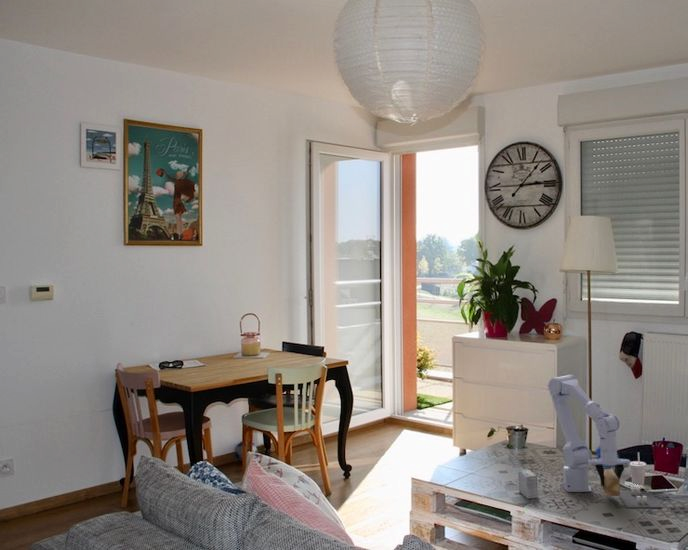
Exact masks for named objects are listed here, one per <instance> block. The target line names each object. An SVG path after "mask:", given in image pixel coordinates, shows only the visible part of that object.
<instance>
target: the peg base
mask: <svg viewBox="0 0 688 550" xmlns="http://www.w3.org/2000/svg"><path fill="white" fill-rule="evenodd" d="M645 492H646V491H641V490H640V488H636V489H635V488H633V487H630V491H620V496H618V497H619V498H620V500H621V501H622V503H623V504H624V506H625V507H626V509H663V506H662V504H660V502H659V501H658V499H657V498H656V497H655V495H653V493H652V492H651V493H645Z"/></svg>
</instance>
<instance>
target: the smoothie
mask: <svg viewBox="0 0 688 550" xmlns="http://www.w3.org/2000/svg"><path fill="white" fill-rule="evenodd" d="M628 467H629V472H630V476H631V482H632V483H633V484H636V485H637V484H638V485H644V486H645V476H646V468H647V463H646V462H645V461H640V452H638V451H637V460H633V461H632V460H631V461H630V466H628ZM632 483H631V484H632ZM633 484H632V485H633Z"/></svg>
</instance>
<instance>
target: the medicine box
mask: <svg viewBox="0 0 688 550" xmlns="http://www.w3.org/2000/svg"><path fill="white" fill-rule="evenodd" d="M518 487H519V488H518V489H519V494H522V496H524V497H525V498H526V499H528V500H530V499H531V498H532V499H538V498H539V490H538V489H539V488H538V487H539V486H538V475H536V474H535V473H533V472H532V471H531V470H529V469H526V470H524V469H523V470H519V471H518Z"/></svg>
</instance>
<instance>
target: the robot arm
mask: <svg viewBox="0 0 688 550" xmlns="http://www.w3.org/2000/svg"><path fill="white" fill-rule="evenodd" d="M579 382H580V381H579V380H578V379H577V378H576V377H575V376H574V375H573V374H568V375H561V376H554V377H551V378H550V379H549V381H548V384H547V387H548V390H549V393H550V396H551V400H552V404H553V407H554V409H555V412H556V415H557V419H558V421H559V425H560V428H561V431H562V434H563V437H564V440H565V445H564V446H563V448H562V452H563V460H564V462H565V464H566V465H564V466H563V467H562V476H563V477H562V480H563V482H562V483H563V487H564V489H565V491H566V492H568V493H575V492H577V493H578V492H579V493H580V492H581V493H583V492H584V493H585V492H586V493H587V492H590V493H591V492H592V488H591V486H590V479H589V477H590V476H589V475H590V474H589V467H593V466H594V467H595V468H596V471H597V474H598V477H599V478H600V479H601V481H600V485H601V484H602V486H604V469H605V468H604V467H603V466H615V467H614V472H615V474H616V475H617V477H618V478H619V481H620V479H621V476H622V474H623V472H624V470H625V467H624V466H626V467H629V466H630V462H631V460H630V459H629V458H628V459H627V458H619V459H617V454H618V448H617V447H618V446H617V430H619V428H620V421H619V419H618V417H617V416H616V415H614V414H611V413H608V411H606V410H605V408H604V407H602V406H601V404H600V402H597V401H595V400H594V401H593V400H592V399H591V398H590V397H589V396H588V394H587V393H586V392H585V391H584V390H583V388H582V387H581V386H580V383H579ZM571 396H572V397H573V398H574V399H576V401H577V402H579V403H580V404H581V405H582V406H583V407H584V412H585V413H586V414H587V415H588V416H589V417H590V418H591V419H592V421H593V422H594V423H595V427H596V430H597V432H598V436H599V445H600V453H601V458H600V459H595V458H593V454H592V451H591V449H589V446H588V444H587V443H586V442H585V441H583V440H582V439H581V438H580V434H579V432H578V429H577V426H576V423H575V420H574V417H573V415H572V412H571V411H572V410H571V409H570V405H569V402H568V400H569V398H570V397H571ZM602 486H601V487H602Z"/></svg>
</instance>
